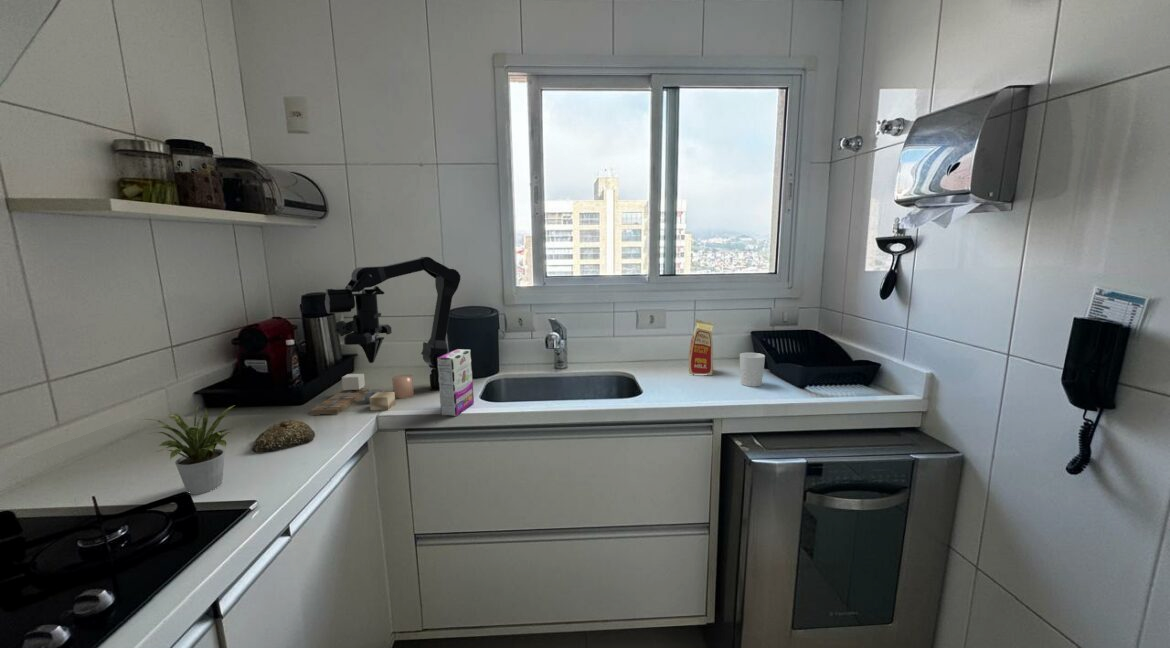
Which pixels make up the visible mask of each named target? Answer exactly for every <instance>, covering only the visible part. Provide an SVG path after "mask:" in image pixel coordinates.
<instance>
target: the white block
mask: <svg viewBox="0 0 1170 648" xmlns="http://www.w3.org/2000/svg"><path fill="white" fill-rule="evenodd" d="M341 384H342V385H341V386H342V390H359V389H361V388H365V386H366V382H365V374H364V373H347V374H345V375H344V376H341Z"/></svg>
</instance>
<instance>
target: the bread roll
mask: <svg viewBox="0 0 1170 648" xmlns="http://www.w3.org/2000/svg"><path fill="white" fill-rule="evenodd" d="M315 436H316V434H315V430H313V429H312V427H311V426H310V425H309V424H308V423H306V422H305V421H302V420H301V421H300V420H296V419H288V420H282V421H281V422H279V423H278V424H277V423H274V424H273V425H270V426H269V427H268V428H267V429H265V430H264V431H263V432H261V433H260V434H258V436H257V437H256V438H255V439H254V444H253V445H252V448H251V451H252V452H253V453H256V454H257V453H260V454H261V453H268V452H275V451H280V450H285V449H289V448H293V447H297V446H302V445H306V444H309V443H311V442H312V441H314V438H315Z"/></svg>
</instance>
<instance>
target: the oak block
mask: <svg viewBox="0 0 1170 648" xmlns="http://www.w3.org/2000/svg"><path fill="white" fill-rule="evenodd" d="M392 406H393V407H395V406H396V398H395V393H394V392H393V391H383V392H377V393H375V394H374V395H373V396H371V397H370V404H369V408H370V411H371V410H388V409H390V408H391V407H392ZM393 407H392V408H393ZM392 408H391V409H392ZM388 411H389V410H388Z"/></svg>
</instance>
